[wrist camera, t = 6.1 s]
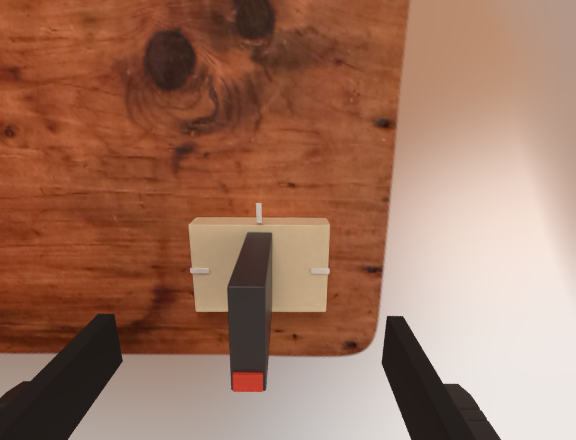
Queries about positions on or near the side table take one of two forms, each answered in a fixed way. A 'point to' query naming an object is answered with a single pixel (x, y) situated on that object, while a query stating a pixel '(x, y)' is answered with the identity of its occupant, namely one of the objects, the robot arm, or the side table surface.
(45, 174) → the side table surface
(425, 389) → the robot arm
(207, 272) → the plate
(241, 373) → the thumbturn
